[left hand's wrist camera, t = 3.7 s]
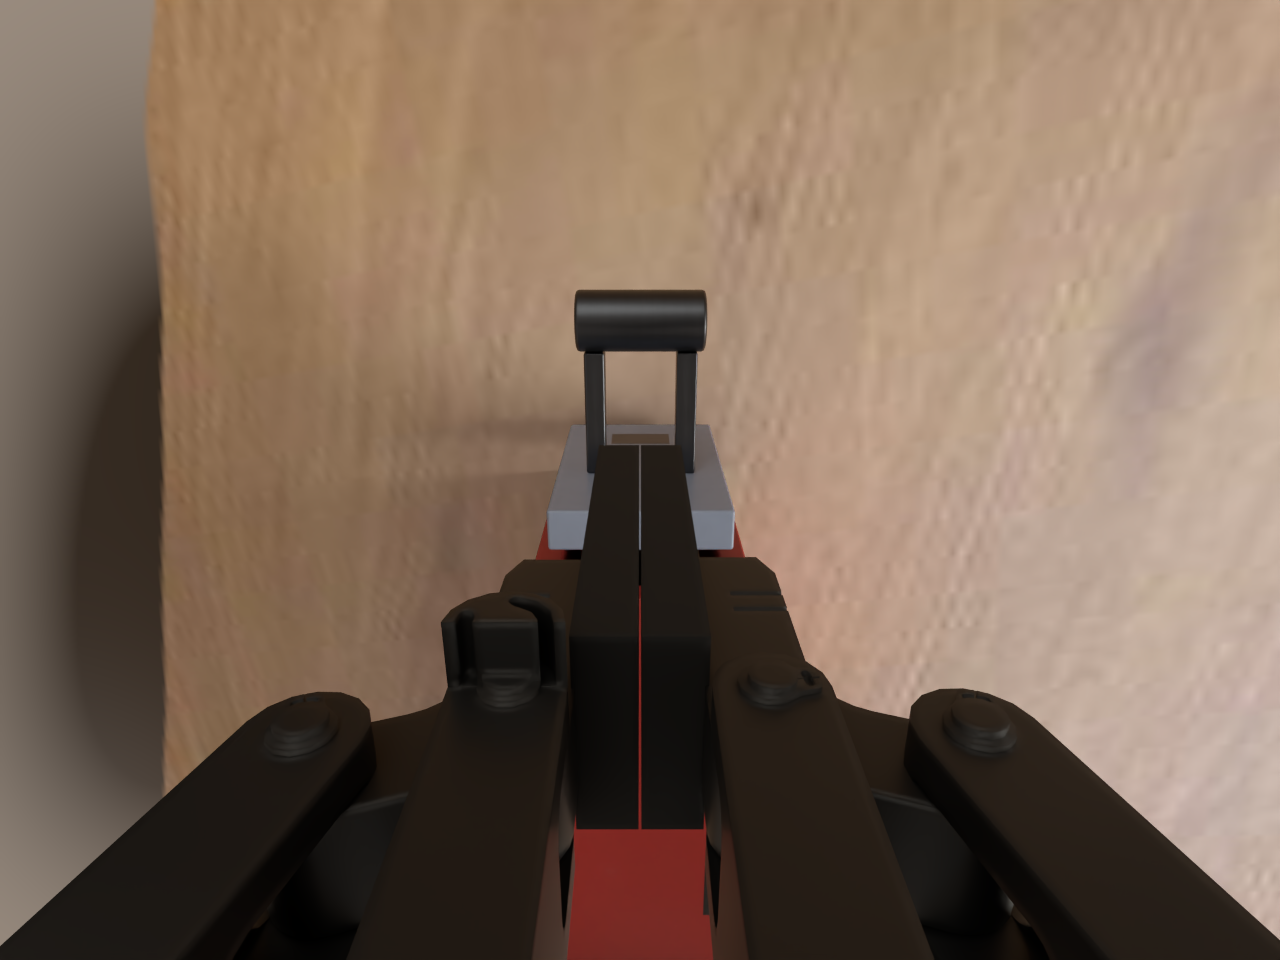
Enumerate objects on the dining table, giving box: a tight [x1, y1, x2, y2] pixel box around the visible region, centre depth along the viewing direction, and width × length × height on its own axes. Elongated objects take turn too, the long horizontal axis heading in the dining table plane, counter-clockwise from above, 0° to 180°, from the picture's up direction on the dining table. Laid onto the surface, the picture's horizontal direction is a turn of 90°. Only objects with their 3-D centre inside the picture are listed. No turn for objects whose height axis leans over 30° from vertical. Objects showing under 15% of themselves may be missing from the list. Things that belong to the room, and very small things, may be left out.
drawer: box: [547, 290, 735, 586], centre depth 27 cm, size 23×5×8 cm, turn 0°
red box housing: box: [536, 520, 745, 960], centre depth 29 cm, size 19×6×10 cm, turn 0°
